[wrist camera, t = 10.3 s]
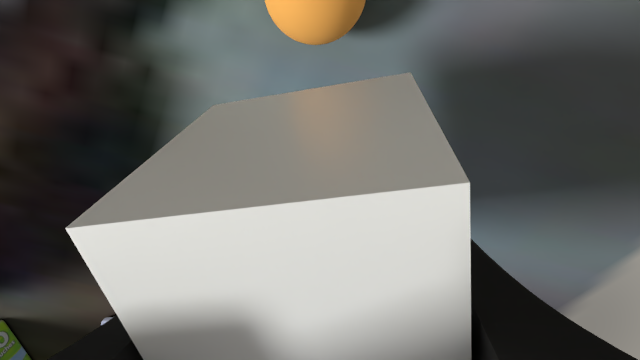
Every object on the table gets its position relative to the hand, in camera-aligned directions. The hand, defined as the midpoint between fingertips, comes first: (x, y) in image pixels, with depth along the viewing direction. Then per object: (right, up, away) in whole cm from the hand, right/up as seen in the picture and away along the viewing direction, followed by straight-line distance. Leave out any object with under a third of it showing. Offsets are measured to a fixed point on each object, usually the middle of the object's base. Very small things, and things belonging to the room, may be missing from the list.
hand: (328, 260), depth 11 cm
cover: (0, +1, +2) cm, 2 cm away
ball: (0, +10, +3) cm, 10 cm away
